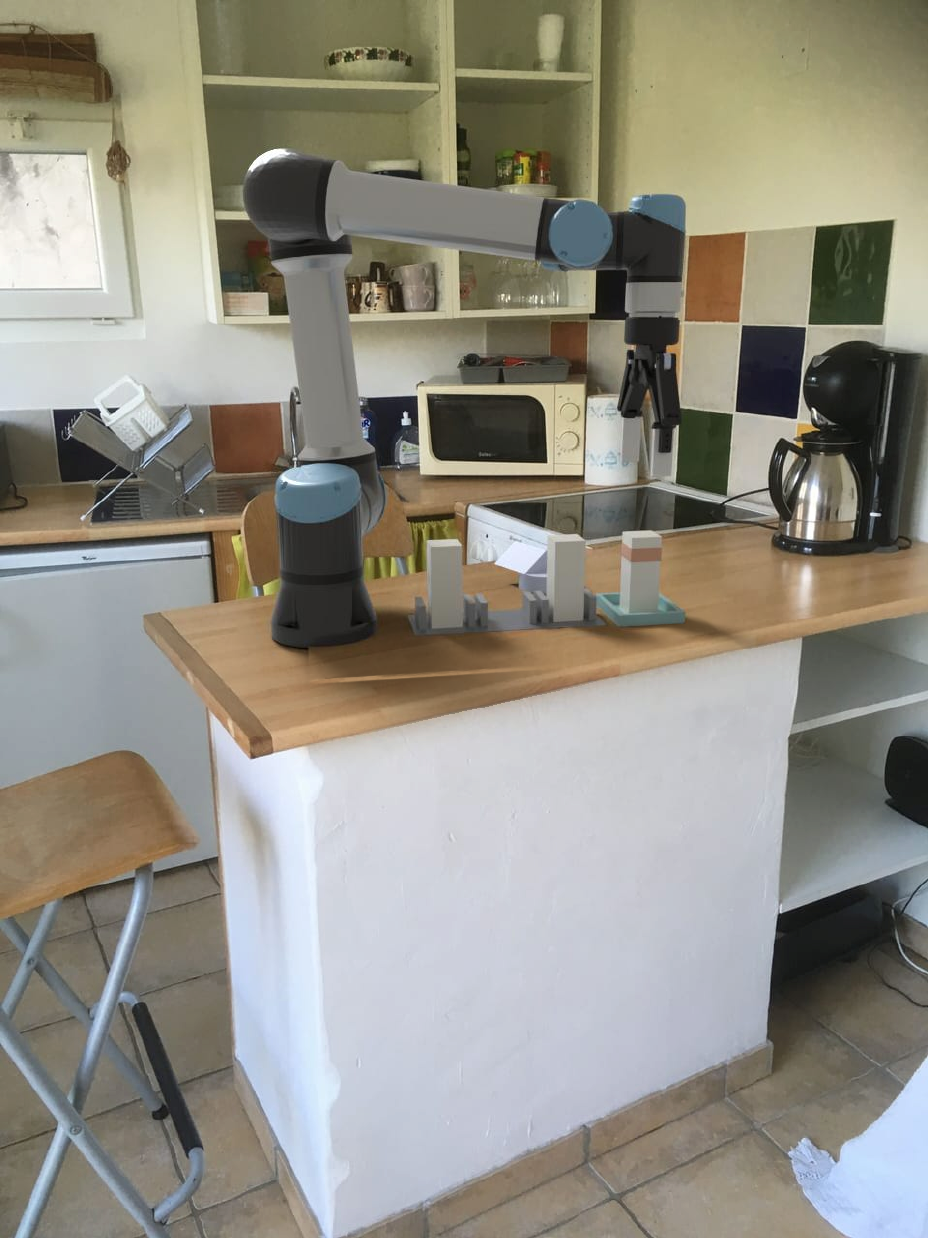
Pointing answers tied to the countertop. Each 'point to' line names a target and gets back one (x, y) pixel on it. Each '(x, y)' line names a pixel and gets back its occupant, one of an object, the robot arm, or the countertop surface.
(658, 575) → the block
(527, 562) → the wedge on round base
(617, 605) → the tray
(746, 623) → the countertop surface
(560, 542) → the block
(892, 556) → the countertop surface
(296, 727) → the countertop surface
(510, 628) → the holder
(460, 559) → the block
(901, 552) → the countertop surface
